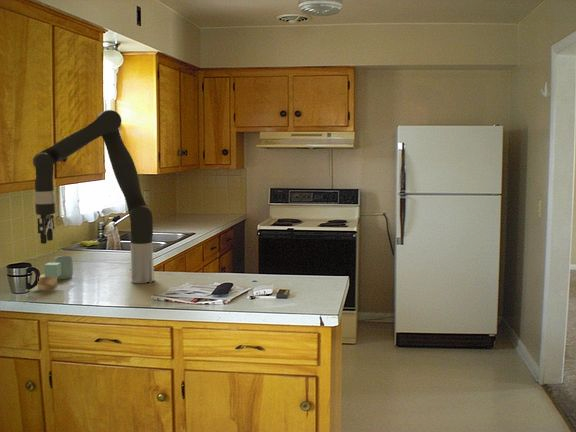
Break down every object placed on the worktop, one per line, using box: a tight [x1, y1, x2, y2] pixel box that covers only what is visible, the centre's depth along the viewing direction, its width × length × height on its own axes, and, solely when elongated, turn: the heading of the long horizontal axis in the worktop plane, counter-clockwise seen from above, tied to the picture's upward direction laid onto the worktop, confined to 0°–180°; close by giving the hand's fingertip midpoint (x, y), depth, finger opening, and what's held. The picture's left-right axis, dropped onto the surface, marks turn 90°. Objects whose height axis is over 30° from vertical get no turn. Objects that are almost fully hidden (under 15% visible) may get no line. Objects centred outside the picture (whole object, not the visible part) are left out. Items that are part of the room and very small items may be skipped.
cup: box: [54, 255, 74, 280], centre depth 297 cm, size 8×8×10 cm
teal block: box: [44, 262, 61, 277], centre depth 275 cm, size 5×5×5 cm
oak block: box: [37, 273, 58, 290], centre depth 276 cm, size 6×6×5 cm
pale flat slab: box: [29, 284, 76, 292], centre depth 276 cm, size 16×10×1 cm, turn 93°
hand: (47, 241), depth 274 cm, fingers open, 8 cm apart
